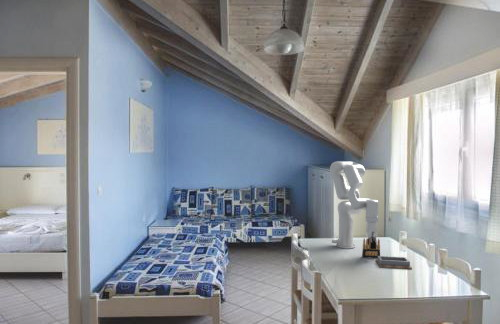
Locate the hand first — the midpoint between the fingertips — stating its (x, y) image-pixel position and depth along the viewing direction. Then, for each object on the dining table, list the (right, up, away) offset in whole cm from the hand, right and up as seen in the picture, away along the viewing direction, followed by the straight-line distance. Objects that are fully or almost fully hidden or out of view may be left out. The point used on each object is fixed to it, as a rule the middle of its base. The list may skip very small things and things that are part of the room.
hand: (371, 246), depth 229 cm
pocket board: (+8, -7, -15) cm, 18 cm away
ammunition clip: (0, -7, +1) cm, 7 cm away
